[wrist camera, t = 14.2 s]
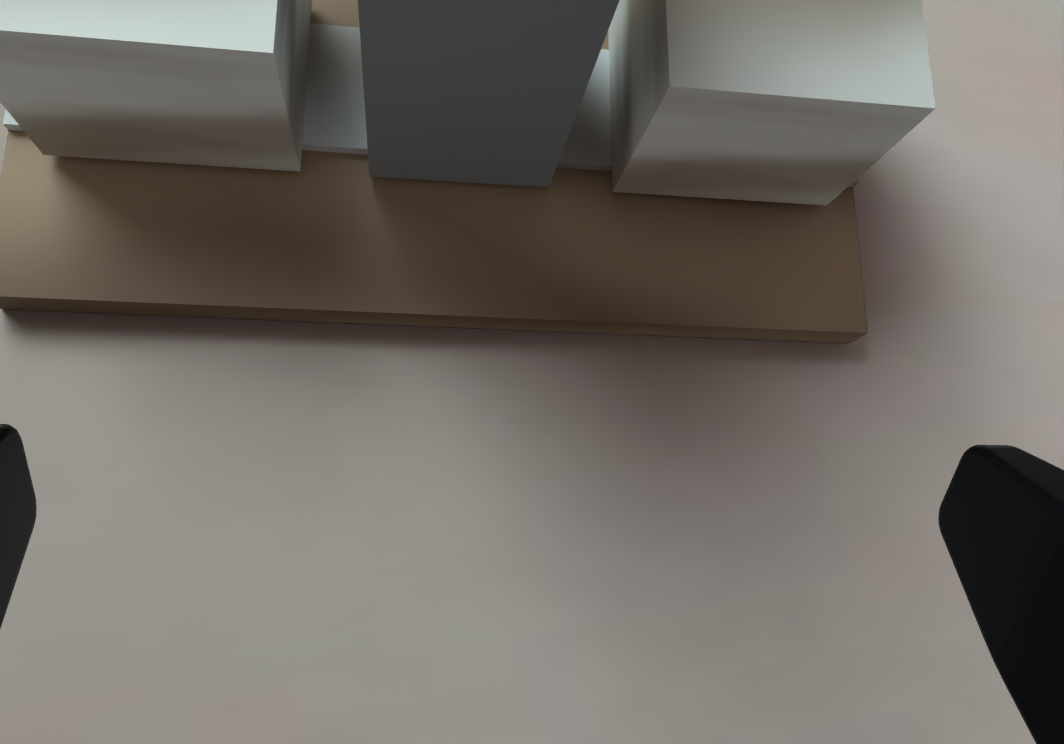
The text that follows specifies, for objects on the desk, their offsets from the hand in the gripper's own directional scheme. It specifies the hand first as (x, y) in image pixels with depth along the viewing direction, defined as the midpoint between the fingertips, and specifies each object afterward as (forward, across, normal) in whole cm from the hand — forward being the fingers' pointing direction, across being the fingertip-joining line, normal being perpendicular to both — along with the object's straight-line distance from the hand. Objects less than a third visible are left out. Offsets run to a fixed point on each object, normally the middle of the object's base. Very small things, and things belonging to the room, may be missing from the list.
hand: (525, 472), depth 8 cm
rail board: (+18, 0, +1) cm, 18 cm away
